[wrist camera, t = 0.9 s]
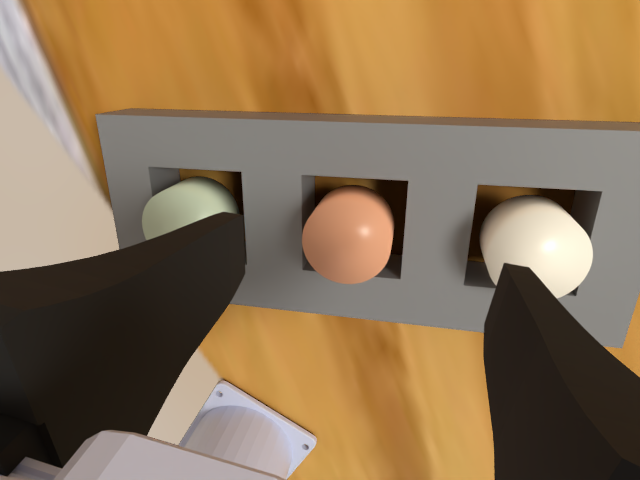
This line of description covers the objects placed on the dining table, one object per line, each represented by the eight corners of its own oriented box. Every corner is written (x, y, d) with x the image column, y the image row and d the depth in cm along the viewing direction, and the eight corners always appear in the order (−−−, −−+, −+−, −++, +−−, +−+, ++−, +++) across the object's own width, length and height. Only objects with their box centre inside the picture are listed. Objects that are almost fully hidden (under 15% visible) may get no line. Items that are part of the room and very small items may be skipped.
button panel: (155, 270, 29) (127, 292, 26) (130, 108, 25) (95, 114, 22) (598, 315, 24) (622, 348, 21) (652, 122, 20) (689, 132, 17)
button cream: (473, 271, 22) (480, 297, 19) (485, 192, 20) (494, 209, 18) (562, 279, 21) (580, 307, 19) (581, 197, 19) (604, 216, 17)
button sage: (174, 245, 25) (148, 264, 22) (164, 174, 23) (136, 187, 21) (242, 251, 24) (222, 271, 22) (237, 178, 22) (215, 192, 20)
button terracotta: (314, 257, 23) (302, 279, 21) (314, 182, 22) (301, 197, 19) (391, 264, 22) (388, 288, 20) (397, 187, 21) (394, 203, 19)
